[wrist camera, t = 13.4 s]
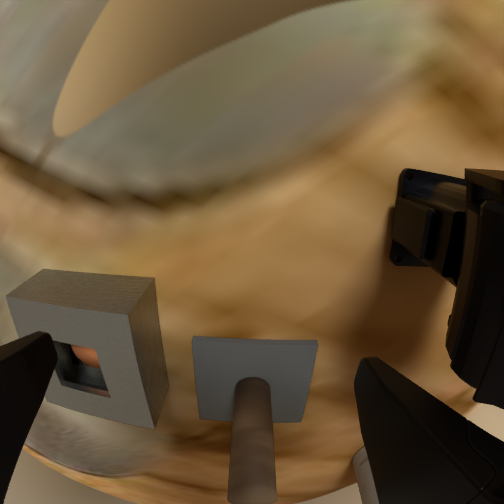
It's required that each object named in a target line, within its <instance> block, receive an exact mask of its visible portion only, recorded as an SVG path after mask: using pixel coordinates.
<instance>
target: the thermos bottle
mask: <svg viewBox="0 0 504 504" xmlns="http://www.w3.org/2000/svg"><path fill="white" fill-rule="evenodd" d="M353 467H354V471H355V475H356V479H357V483H358V486H359V491H360V495H361V499H362V503H363V504H379V501H378V497H377V493H376V488H375V484H374V480H373V476H372V472H371V468H370V464H369V461H368V457H367V453H366V449H365V446H364V447H363V448H361V449H360V450H359V451H358V452H357V453H356V454H355V456H354V458H353Z"/></svg>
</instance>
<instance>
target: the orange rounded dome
mask: <svg viewBox="0 0 504 504" xmlns="http://www.w3.org/2000/svg"><path fill="white" fill-rule="evenodd" d="M71 347H72V350H73V351H74V353H75V355H76V356H77V357H78V358H79V359H80V360H81V361H82V362H83V363H85V364H87V365H88V366H91V367H94V368H101V367H100V364H99V361H98V357H97V354H96V351H95V349H92V348H87V347H82V346H77V345H72V344H71Z"/></svg>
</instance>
